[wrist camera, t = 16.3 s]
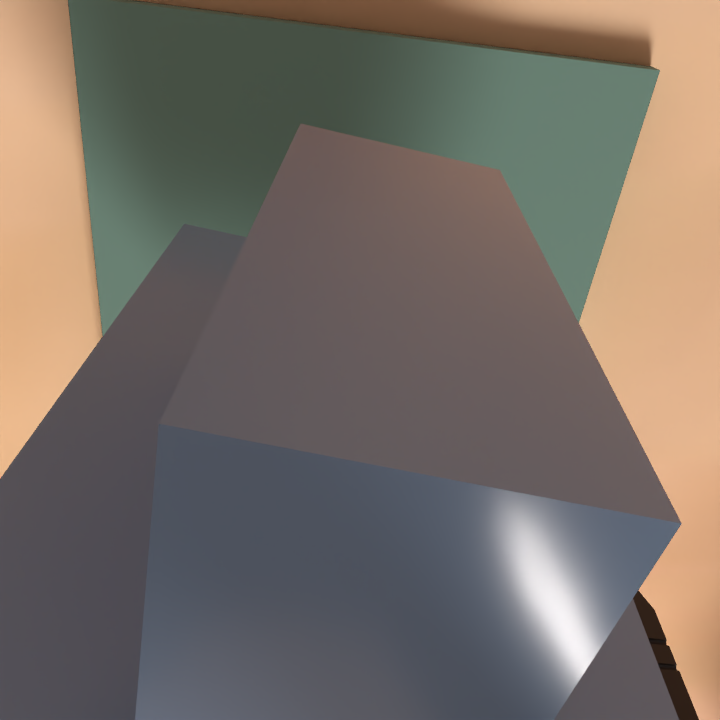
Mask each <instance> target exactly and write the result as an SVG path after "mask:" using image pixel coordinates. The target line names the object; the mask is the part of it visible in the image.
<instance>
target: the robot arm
mask: <svg viewBox="0 0 720 720" xmlns="http://www.w3.org/2000/svg"><path fill="white" fill-rule="evenodd" d="M633 600H634V603H635V605H636V608H637V611H638V613H639V616H640V618H641V621H642V624H643V626H644V629H645V632H646V634H647V637H648V639H649V642H650V645H651V647H652V650H653V653H654V655H655V658H656V661H657V663H658V666H659V668H660V671H661V674H662V676H663V679H664V682H665V684H666V687H667V689H668V692H669V695H670V697H671V700H672V703H673V705H674V708H675V710H676V713H677V716H678V718H679V720H699V719H698V716H697V714H696V711H695V709H694V706H693V704H692V701H691V699H690V696H689V694H688V692H687V689H686V687H685V684H684V682H683V679H682V677H681V674H680V672H679V671H677V669H676V665H677V664H676V662H675V659H674V657H673V655H672V652H671V650H670V647H669V646H667V645H666V637H665V635H664V632H663V630H662V627H661V625H660V622H659V620H658V618H657V615H656V613H655V610H654V609H653V608H652V606H651V605H650V604H649V603H648V602H647V600H646V599H645V598H644V597H643V596H642V594H641V593H640V592H639V591H637V593H636V594H635V596H634V597H633Z"/></svg>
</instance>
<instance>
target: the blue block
mask: <svg viewBox="0 0 720 720" xmlns="http://www.w3.org/2000/svg"><path fill="white" fill-rule="evenodd" d="M680 525H681V522H680V520H679V518H678V516H677V514H676V512H675V510H674V508H673V506H672V504H671V502H670V500H669V498H668V496H667V494H666V492H665V490H664V488H663V487H662V485H661V483H660V481H659V479H658V477H657V475H656V473H655V471H654V469H653V467H652V465H651V463H650V461H649V459H648V457H647V455H646V453H645V451H644V450H643V448H642V446H641V444H640V442H639V440H638V438H637V436H636V434H635V432H634V430H633V428H632V426H631V424H630V422H629V420H628V418H627V416H626V414H625V413H624V411H623V409H622V407H621V405H620V403H619V401H618V399H617V397H616V395H615V393H614V391H613V389H612V387H611V385H610V383H609V381H608V379H607V377H606V376H605V374H604V372H603V370H602V368H601V366H600V364H599V362H598V360H597V358H596V356H595V354H594V352H593V350H592V348H591V346H590V344H589V342H588V340H587V339H586V337H585V335H584V333H583V331H582V329H581V327H580V325H579V323H578V321H577V319H576V317H575V315H574V313H573V311H572V309H571V307H570V305H569V303H568V302H567V300H566V298H565V296H564V294H563V292H562V290H561V288H560V286H559V284H558V282H557V280H556V278H555V276H554V274H553V272H552V270H551V268H550V266H549V265H548V263H547V261H546V259H545V257H544V255H543V253H542V251H541V249H540V247H539V245H538V243H537V241H536V239H535V237H534V235H533V233H532V231H531V229H530V228H529V226H528V224H527V222H526V220H525V218H524V216H523V214H522V212H521V210H520V208H519V206H518V204H517V202H516V200H515V198H514V196H513V194H512V192H511V191H510V189H509V187H508V185H507V183H506V181H505V179H504V177H503V175H502V173H501V171H500V170H498V169H494V168H489V167H485V166H481V165H476V164H472V163H468V162H464V161H459V160H455V159H451V158H446V157H442V156H438V155H434V154H429V153H425V152H421V151H416V150H412V149H408V148H404V147H399V146H395V145H391V144H387V143H382V142H378V141H374V140H369V139H365V138H361V137H357V136H352V135H348V134H344V133H339V132H335V131H331V130H327V129H322V128H318V127H314V126H310V125H305V124H300V126H299V128H298V130H297V132H296V134H295V136H294V139H293V141H292V143H291V145H290V147H289V149H288V151H287V153H286V155H285V158H284V160H283V162H282V164H281V166H280V168H279V170H278V172H277V175H276V177H275V179H274V181H273V183H272V185H271V187H270V189H269V191H268V194H267V196H266V198H265V200H264V202H263V204H262V206H261V208H260V211H259V213H258V215H257V217H256V219H255V221H254V223H253V225H252V227H251V230H250V232H249V234H248V236H247V237H243V236H239V235H234V234H230V233H225V232H220V231H216V230H211V229H207V228H202V227H197V226H193V225H188V224H184V225H183V226H182V227H181V229H180V230H179V232H178V233H177V234H176V236H175V237H174V238H173V240H172V241H171V243H170V244H169V245H168V247H167V248H166V250H165V251H164V252H163V254H162V255H161V257H160V258H159V259H158V261H157V262H156V263H155V265H154V266H153V268H152V269H151V270H150V272H149V273H148V275H147V276H146V277H145V279H144V280H143V282H142V283H141V284H140V286H139V287H138V288H137V290H136V291H135V293H134V294H133V295H132V297H131V298H130V300H129V301H128V302H127V304H126V305H125V306H124V308H123V309H122V311H121V312H120V313H119V315H118V316H117V318H116V319H115V320H114V322H113V323H112V325H111V326H110V327H109V329H108V330H107V331H106V333H105V334H104V336H103V337H102V338H101V340H100V341H99V343H98V344H97V345H96V347H95V348H94V349H93V351H92V352H91V354H90V355H89V356H88V358H87V359H86V361H85V362H84V363H83V365H82V366H81V368H80V369H79V370H78V372H77V373H76V374H75V376H74V377H73V379H72V380H71V381H70V383H69V384H68V386H67V387H66V388H65V390H64V391H63V393H62V394H61V395H60V397H59V398H58V399H57V401H56V402H55V404H54V405H53V406H52V408H51V409H50V411H49V412H48V413H47V415H46V416H45V417H44V419H43V420H42V422H41V423H40V424H39V426H38V427H37V429H36V430H35V431H34V433H33V434H32V436H31V437H30V438H29V440H28V441H27V442H26V444H25V445H24V447H23V448H22V449H21V451H20V452H19V454H18V455H17V456H16V458H15V459H14V460H13V462H12V463H11V465H10V466H9V467H8V469H7V470H6V472H5V473H4V474H3V476H2V477H1V479H0V720H679V718H678V716H677V713H676V710H675V708H674V705H673V703H672V700H671V697H670V695H669V692H668V689H667V687H666V684H665V682H664V679H663V676H662V674H661V671H660V668H659V666H658V663H657V661H656V658H655V655H654V653H653V650H652V647H651V645H650V642H649V639H648V637H647V634H646V632H645V629H644V626H643V624H642V621H641V618H640V616H639V613H638V611H637V608H636V605H635V603H634V600H633V597H634V596H635V594H636V593H637V591H638V590H639V588H640V587H641V585H642V584H643V582H644V580H645V579H646V577H647V576H648V574H649V573H650V571H651V570H652V568H653V567H654V565H655V564H656V562H657V561H658V559H659V557H660V556H661V554H662V553H663V551H664V550H665V548H666V547H667V545H668V544H669V542H670V541H671V539H672V538H673V536H674V534H675V533H676V531H677V530H678V528H679V527H680Z"/></svg>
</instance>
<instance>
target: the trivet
mask: <svg viewBox="0 0 720 720" xmlns="http://www.w3.org/2000/svg"><path fill="white" fill-rule="evenodd" d="M68 6H69V15H70V25H71V35H72V44H73V54H74V63H75V73H76V83H77V92H78V102H79V112H80V121H81V131H82V141H83V150H84V160H85V170H86V179H87V189H88V199H89V208H90V218H91V228H92V237H93V247H94V257H95V266H96V276H97V285H98V295H99V305H100V314H101V324H102V334H103V336H104V334H105V333H106V331H107V330H108V329H109V327H110V326H111V325H112V323H113V322H114V320H115V319H116V318H117V316H118V315H119V313H120V312H121V311H122V309H123V308H124V306H125V305H126V304H127V302H128V301H129V300H130V298H131V297H132V295H133V294H134V293H135V291H136V290H137V288H138V287H139V286H140V284H141V283H142V282H143V280H144V279H145V277H146V276H147V275H148V273H149V272H150V270H151V269H152V268H153V266H154V265H155V263H156V262H157V261H158V259H159V258H160V257H161V255H162V254H163V252H164V251H165V250H166V248H167V247H168V245H169V244H170V243H171V241H172V240H173V238H174V237H175V236H176V234H177V233H178V232H179V230H180V229H181V227H182V226H183V225H184V224H188V225H193V226H197V227H202V228H207V229H211V230H216V231H220V232H225V233H230V234H234V235H239V236H243V237H247V236H248V234H249V232H250V230H251V227H252V225H253V223H254V221H255V219H256V217H257V215H258V213H259V211H260V208H261V206H262V204H263V202H264V200H265V198H266V196H267V194H268V191H269V189H270V187H271V185H272V183H273V181H274V179H275V177H276V175H277V172H278V170H279V168H280V166H281V164H282V162H283V160H284V158H285V155H286V153H287V151H288V149H289V147H290V145H291V143H292V141H293V139H294V136H295V134H296V132H297V130H298V128H299V126H300V124H305V125H310V126H314V127H318V128H322V129H327V130H331V131H335V132H339V133H344V134H348V135H352V136H357V137H361V138H365V139H369V140H374V141H378V142H382V143H387V144H391V145H395V146H399V147H404V148H408V149H412V150H416V151H421V152H425V153H429V154H434V155H438V156H442V157H446V158H451V159H455V160H459V161H464V162H468V163H472V164H476V165H481V166H485V167H489V168H494V169H498V170H500V171H501V173H502V175H503V177H504V179H505V181H506V183H507V185H508V187H509V189H510V191H511V192H512V194H513V196H514V198H515V200H516V202H517V204H518V206H519V208H520V210H521V212H522V214H523V216H524V218H525V220H526V222H527V224H528V226H529V228H530V229H531V231H532V233H533V235H534V237H535V239H536V241H537V243H538V245H539V247H540V249H541V251H542V253H543V255H544V257H545V259H546V261H547V263H548V265H549V266H550V268H551V270H552V272H553V274H554V276H555V278H556V280H557V282H558V284H559V286H560V288H561V290H562V292H563V294H564V296H565V298H566V300H567V302H568V303H569V305H570V307H571V309H572V311H573V313H574V315H575V317H576V319H577V321H578V323H579V320H580V317H581V314H582V311H583V308H584V305H585V302H586V299H587V295H588V292H589V289H590V286H591V283H592V280H593V277H594V274H595V271H596V267H597V264H598V261H599V258H600V255H601V252H602V249H603V246H604V243H605V240H606V236H607V233H608V230H609V227H610V224H611V221H612V218H613V215H614V212H615V208H616V205H617V202H618V199H619V196H620V193H621V190H622V187H623V184H624V181H625V177H626V174H627V171H628V168H629V165H630V162H631V159H632V156H633V153H634V149H635V146H636V143H637V140H638V137H639V134H640V131H641V128H642V125H643V122H644V118H645V115H646V112H647V109H648V106H649V103H650V100H651V97H652V94H653V90H654V87H655V84H656V81H657V78H658V75H659V72H660V70H658V69H656V68H654V67H652V66H644V65H636V64H628V63H620V62H612V61H605V60H597V59H589V58H581V57H573V56H565V55H557V54H550V53H542V52H534V51H526V50H518V49H510V48H502V47H495V46H487V45H479V44H471V43H463V42H455V41H448V40H440V39H432V38H424V37H416V36H408V35H400V34H393V33H385V32H377V31H369V30H361V29H353V28H345V27H338V26H330V25H322V24H314V23H306V22H298V21H290V20H283V19H275V18H267V17H259V16H251V15H243V14H235V13H228V12H220V11H212V10H204V9H196V8H188V7H181V6H173V5H165V4H157V3H149V2H141V1H133V0H68Z"/></svg>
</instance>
